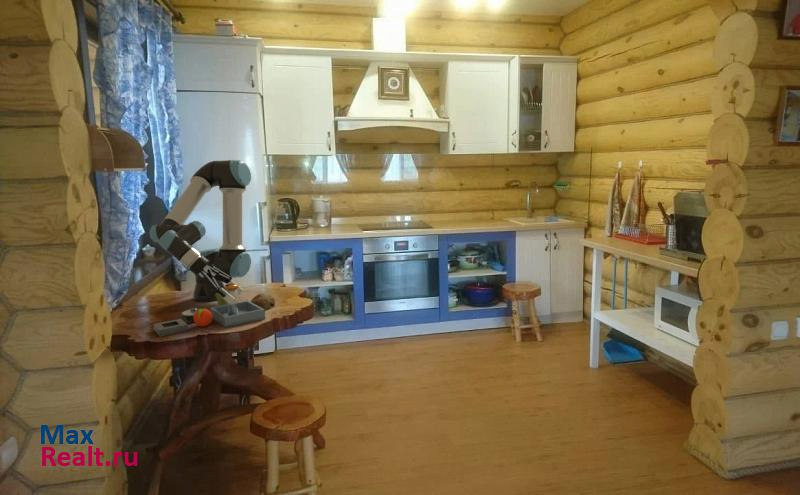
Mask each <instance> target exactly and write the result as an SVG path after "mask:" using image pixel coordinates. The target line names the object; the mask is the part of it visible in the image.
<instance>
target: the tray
mask: <svg viewBox="0 0 800 495" xmlns="http://www.w3.org/2000/svg"><path fill="white" fill-rule="evenodd" d="M209 309H210V310H209V311H210V312H211V313H212V316H213V319H212V320H213V321H216V322H217V323H219V324H220V325H221V326H223V327H224V328H231V327H235V326H238V325H239V326H240V325H244V324H249V323H253V322H256V321H257V322H258V321H262V320H265V319H266V311H265V309H263V308H261V307H259V306H257V305H255V304H253V303H252V302H251V301H249V300H244V301H238V314H236V315H231V316H228V306H227V305H222V306H218V305H217V306H212V307H210V308H209Z"/></svg>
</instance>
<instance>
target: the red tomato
mask: <svg viewBox="0 0 800 495" xmlns="http://www.w3.org/2000/svg"><path fill="white" fill-rule="evenodd" d="M193 319H194V321H193V322H194V323H195V325H197V326H198V327H207V326H209V325H210V324H211V322H213V320H214V319H213V316H212V313H211V312H210V310H209V309H207V308H203V307H202V308H200V309H199V310H198V311H196V313H195V314H194V318H193Z"/></svg>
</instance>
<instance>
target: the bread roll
mask: <svg viewBox="0 0 800 495" xmlns="http://www.w3.org/2000/svg"><path fill="white" fill-rule="evenodd" d="M250 302H252V303H253V304H255V305H257V306H259V307H261V308H263V309H266V310H269V309H270V308H271V309H272V308H274V306H275V305H276V301H275V298H274V297H273V295H270V294H269V293H263V292H262V293H258V294H256V295H255V296H254V297H252V298H251V301H250ZM271 309H270V310H271Z"/></svg>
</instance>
